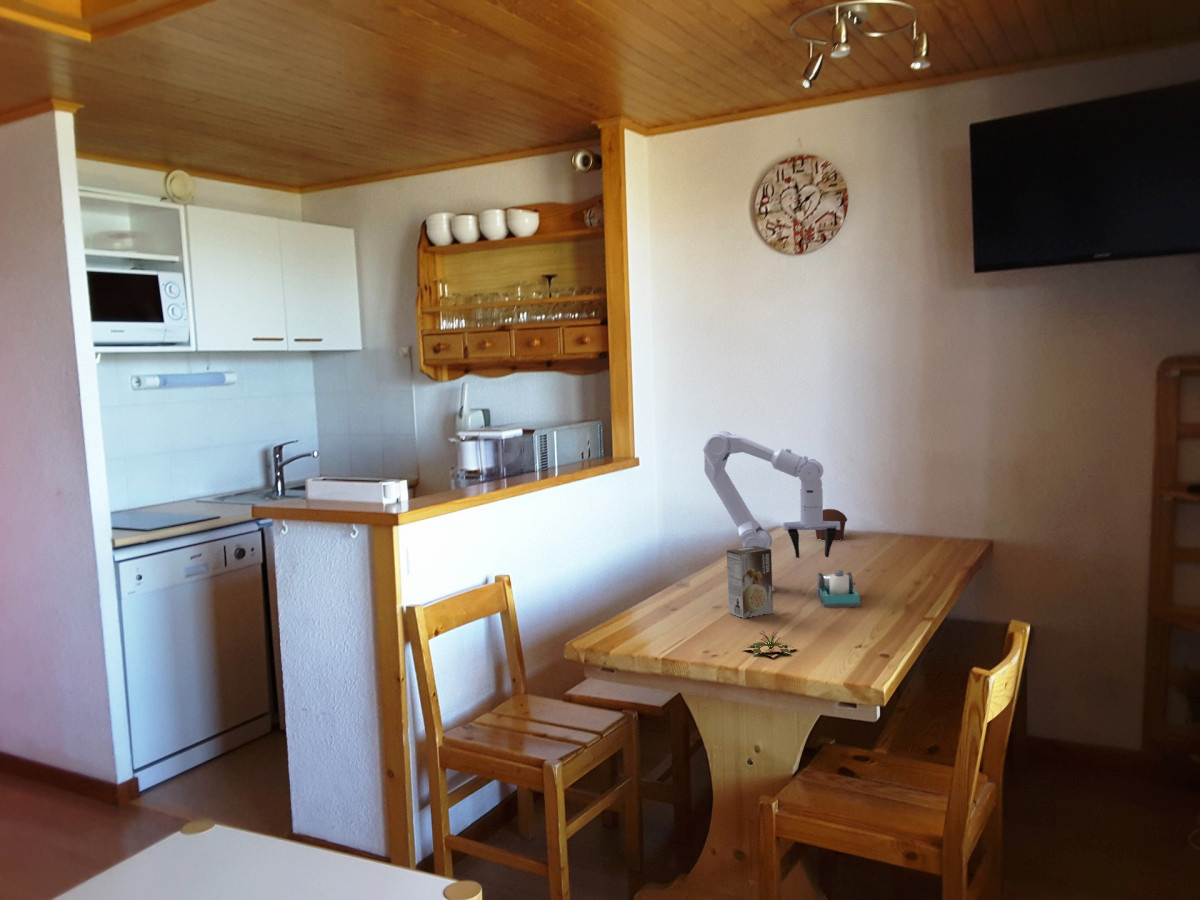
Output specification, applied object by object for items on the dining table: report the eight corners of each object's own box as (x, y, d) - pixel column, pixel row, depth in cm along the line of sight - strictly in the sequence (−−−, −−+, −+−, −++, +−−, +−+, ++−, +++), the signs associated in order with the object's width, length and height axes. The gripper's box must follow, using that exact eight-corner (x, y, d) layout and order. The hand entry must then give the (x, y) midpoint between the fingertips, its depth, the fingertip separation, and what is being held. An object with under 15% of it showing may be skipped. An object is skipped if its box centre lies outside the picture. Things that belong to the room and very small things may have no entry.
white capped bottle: (836, 602, 241) (836, 573, 240) (825, 597, 245) (825, 570, 245) (852, 600, 242) (852, 571, 242) (842, 595, 247) (842, 568, 246)
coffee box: (757, 607, 242) (756, 544, 240) (773, 613, 236) (772, 549, 234) (727, 613, 237) (726, 549, 236) (743, 619, 232) (741, 553, 230)
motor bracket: (823, 607, 240) (823, 583, 239) (815, 593, 254) (815, 570, 253) (863, 606, 239) (862, 582, 239) (852, 593, 253) (852, 569, 253)
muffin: (812, 542, 322) (812, 512, 321) (811, 535, 333) (810, 507, 332) (849, 542, 320) (849, 512, 319) (846, 535, 331) (846, 507, 330)
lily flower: (810, 652, 206) (810, 631, 206) (774, 665, 199) (774, 643, 198) (766, 641, 215) (765, 621, 215) (730, 652, 208) (730, 632, 207)
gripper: (836, 503, 257) (837, 553, 259) (782, 504, 258) (782, 554, 260) (841, 507, 250) (841, 558, 252) (785, 508, 251) (785, 559, 253)
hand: (812, 556), depth 255 cm, fingers open, 7 cm apart
